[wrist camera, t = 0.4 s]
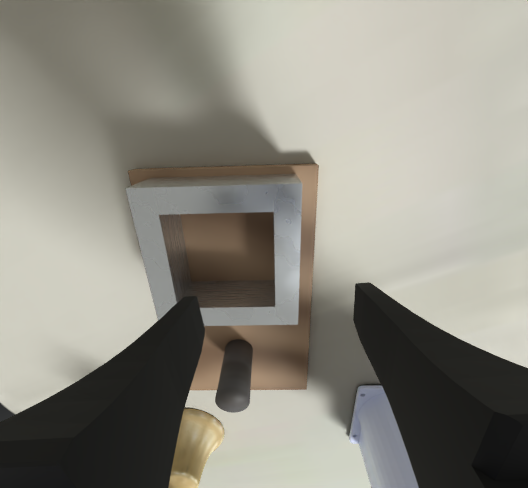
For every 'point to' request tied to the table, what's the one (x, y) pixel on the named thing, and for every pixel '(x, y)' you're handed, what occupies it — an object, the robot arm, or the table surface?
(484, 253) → the table surface
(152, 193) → the grey square frame
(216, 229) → the brown board
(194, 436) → the hand bell
